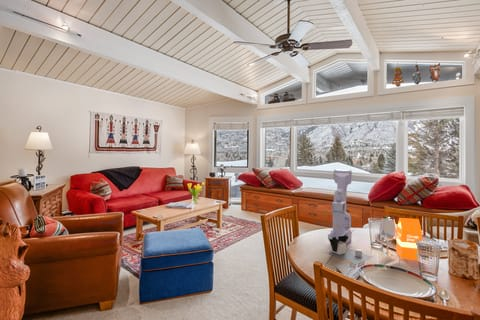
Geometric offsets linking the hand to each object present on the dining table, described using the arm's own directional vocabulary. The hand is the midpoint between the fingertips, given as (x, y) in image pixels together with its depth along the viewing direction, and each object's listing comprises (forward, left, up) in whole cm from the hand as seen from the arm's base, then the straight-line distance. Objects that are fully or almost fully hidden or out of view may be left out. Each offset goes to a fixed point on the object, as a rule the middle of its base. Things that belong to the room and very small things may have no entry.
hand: (338, 250), depth 125 cm
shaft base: (-3, +5, -3) cm, 6 cm away
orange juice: (-30, +21, -3) cm, 36 cm away
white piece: (0, 0, -1) cm, 1 cm away
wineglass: (-21, +15, -3) cm, 26 cm away
